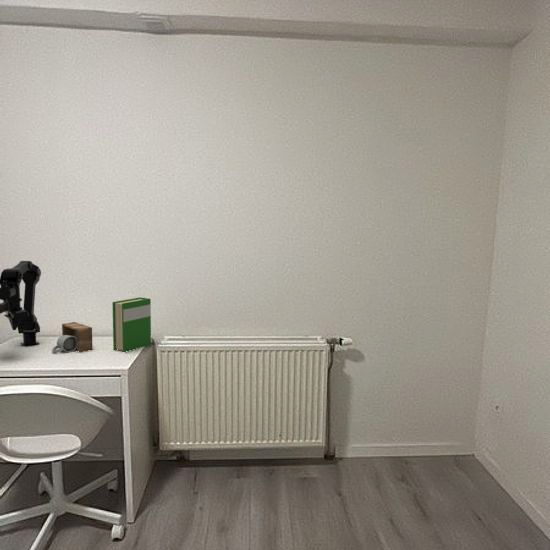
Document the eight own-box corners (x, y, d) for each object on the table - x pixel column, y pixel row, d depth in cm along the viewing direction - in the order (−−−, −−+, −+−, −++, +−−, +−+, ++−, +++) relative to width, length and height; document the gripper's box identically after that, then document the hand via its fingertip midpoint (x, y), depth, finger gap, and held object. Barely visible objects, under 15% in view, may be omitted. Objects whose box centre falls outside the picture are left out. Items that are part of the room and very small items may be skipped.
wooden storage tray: (62, 345, 214) (61, 323, 213) (74, 343, 219) (74, 321, 218) (80, 352, 203) (79, 329, 202) (92, 349, 208) (91, 327, 206)
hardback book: (124, 352, 204) (123, 303, 202) (113, 350, 208) (112, 302, 205) (151, 344, 219) (150, 298, 217) (140, 342, 223) (140, 297, 220)
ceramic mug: (70, 347, 211) (70, 332, 211) (79, 350, 206) (78, 335, 205) (48, 352, 203) (47, 336, 202) (56, 355, 198) (55, 339, 197)
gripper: (-15, 296, 193) (-13, 329, 195) (0, 301, 181) (2, 336, 183) (12, 293, 202) (13, 325, 203) (28, 298, 190) (29, 332, 192)
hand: (14, 330), depth 195 cm, fingers closed
